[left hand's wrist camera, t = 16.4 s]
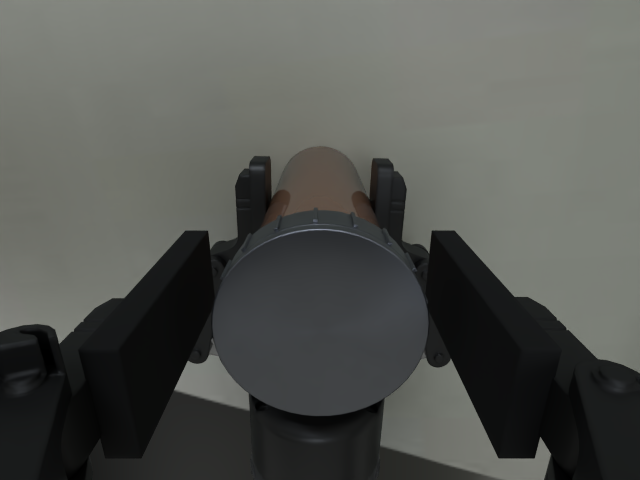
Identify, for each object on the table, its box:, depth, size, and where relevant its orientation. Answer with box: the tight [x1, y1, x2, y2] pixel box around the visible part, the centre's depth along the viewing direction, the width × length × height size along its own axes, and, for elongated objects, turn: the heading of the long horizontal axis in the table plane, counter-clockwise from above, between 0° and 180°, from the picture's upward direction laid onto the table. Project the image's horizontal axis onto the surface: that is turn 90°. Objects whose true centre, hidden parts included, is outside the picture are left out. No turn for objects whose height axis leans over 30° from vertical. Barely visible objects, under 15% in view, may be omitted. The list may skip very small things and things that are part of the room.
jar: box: [260, 146, 381, 229], centre depth 18 cm, size 5×5×15 cm
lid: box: [211, 207, 430, 416], centre depth 11 cm, size 6×6×2 cm
